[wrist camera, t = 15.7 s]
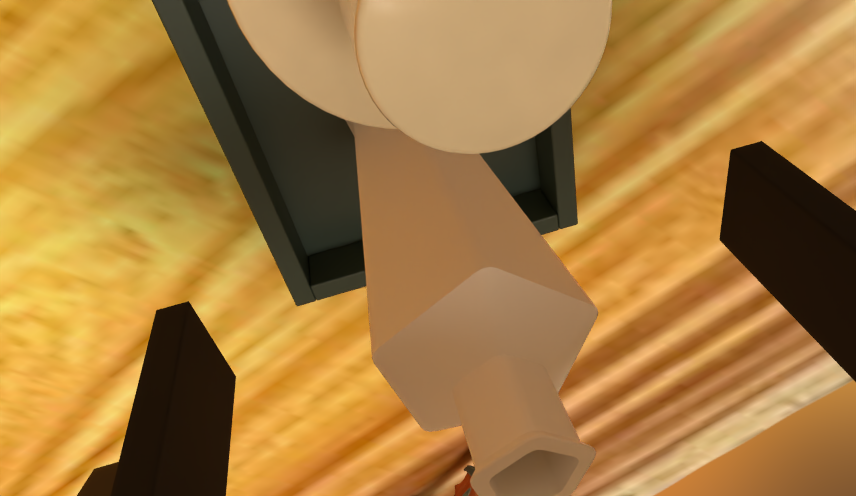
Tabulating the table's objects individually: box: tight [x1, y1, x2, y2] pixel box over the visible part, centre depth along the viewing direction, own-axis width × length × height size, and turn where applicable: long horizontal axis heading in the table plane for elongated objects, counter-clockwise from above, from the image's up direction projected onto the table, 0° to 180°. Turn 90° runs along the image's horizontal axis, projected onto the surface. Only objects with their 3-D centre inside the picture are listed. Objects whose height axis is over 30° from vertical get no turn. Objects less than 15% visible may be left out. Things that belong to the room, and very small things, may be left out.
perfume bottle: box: [346, 120, 598, 496], centre depth 16 cm, size 5×4×15 cm
